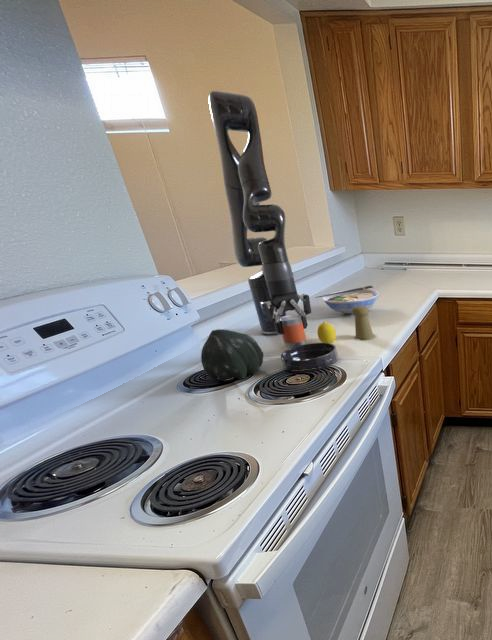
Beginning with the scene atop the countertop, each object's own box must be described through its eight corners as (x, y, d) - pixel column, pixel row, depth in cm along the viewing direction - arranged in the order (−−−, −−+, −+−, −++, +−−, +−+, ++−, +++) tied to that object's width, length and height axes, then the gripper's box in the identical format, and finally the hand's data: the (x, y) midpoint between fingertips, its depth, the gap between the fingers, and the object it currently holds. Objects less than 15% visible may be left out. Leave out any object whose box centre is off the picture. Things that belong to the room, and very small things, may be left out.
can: (281, 345, 132) (274, 318, 128) (302, 340, 136) (296, 313, 132) (289, 350, 128) (282, 322, 124) (310, 344, 132) (304, 317, 128)
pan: (276, 364, 124) (272, 352, 122) (325, 351, 134) (322, 339, 132) (296, 378, 114) (292, 365, 113) (347, 362, 124) (344, 350, 122)
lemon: (321, 349, 135) (316, 325, 132) (319, 344, 140) (314, 321, 137) (339, 346, 138) (334, 322, 134) (336, 341, 142) (332, 318, 139)
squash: (272, 343, 125) (222, 312, 116) (273, 361, 113) (218, 328, 104) (241, 378, 125) (189, 350, 116) (239, 400, 113) (180, 371, 104)
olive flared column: (368, 340, 142) (363, 309, 137) (352, 339, 143) (346, 308, 139) (376, 334, 147) (371, 304, 143) (361, 334, 148) (355, 303, 144)
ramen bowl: (335, 324, 161) (331, 303, 158) (315, 313, 177) (310, 294, 173) (393, 311, 176) (391, 292, 172) (369, 302, 192) (367, 284, 188)
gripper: (298, 272, 130) (310, 323, 137) (249, 280, 121) (264, 334, 128) (308, 274, 125) (320, 327, 132) (257, 283, 116) (273, 339, 123)
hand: (292, 330), depth 130 cm, fingers closed on can, 6 cm apart
